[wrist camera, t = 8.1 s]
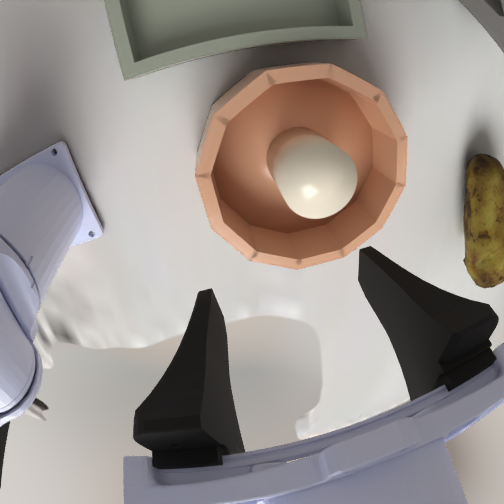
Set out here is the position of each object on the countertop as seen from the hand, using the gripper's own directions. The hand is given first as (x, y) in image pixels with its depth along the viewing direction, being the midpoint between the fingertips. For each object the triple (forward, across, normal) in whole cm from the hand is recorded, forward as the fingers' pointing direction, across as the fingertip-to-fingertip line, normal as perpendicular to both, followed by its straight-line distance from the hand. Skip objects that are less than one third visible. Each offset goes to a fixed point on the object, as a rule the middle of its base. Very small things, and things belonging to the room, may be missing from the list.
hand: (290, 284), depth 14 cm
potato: (+9, -22, +6) cm, 25 cm away
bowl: (+9, -3, -2) cm, 10 cm away
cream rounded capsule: (+8, -3, -3) cm, 9 cm away
